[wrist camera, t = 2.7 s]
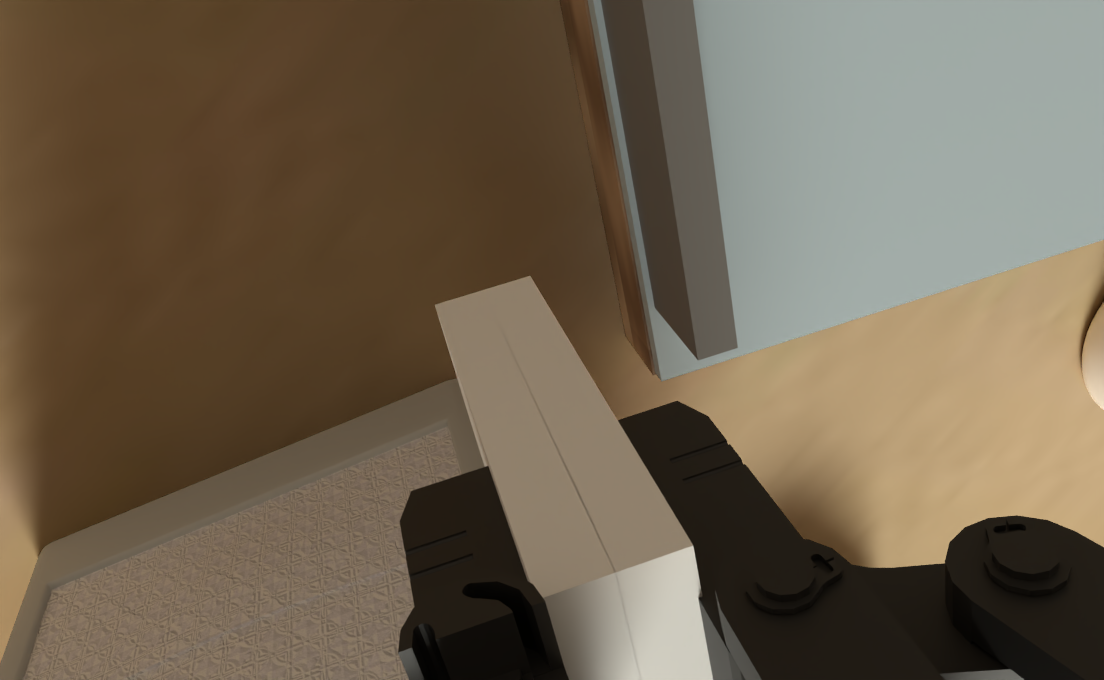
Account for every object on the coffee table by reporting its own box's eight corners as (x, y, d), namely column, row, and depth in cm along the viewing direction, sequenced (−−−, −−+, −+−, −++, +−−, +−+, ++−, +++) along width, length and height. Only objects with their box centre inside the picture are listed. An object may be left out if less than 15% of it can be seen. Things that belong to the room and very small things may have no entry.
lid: (528, -327, 22) (575, -364, 18) (1206, -480, 24) (1370, -540, 20) (655, 372, 31) (703, 439, 28) (1133, 220, 33) (1237, 264, 30)
